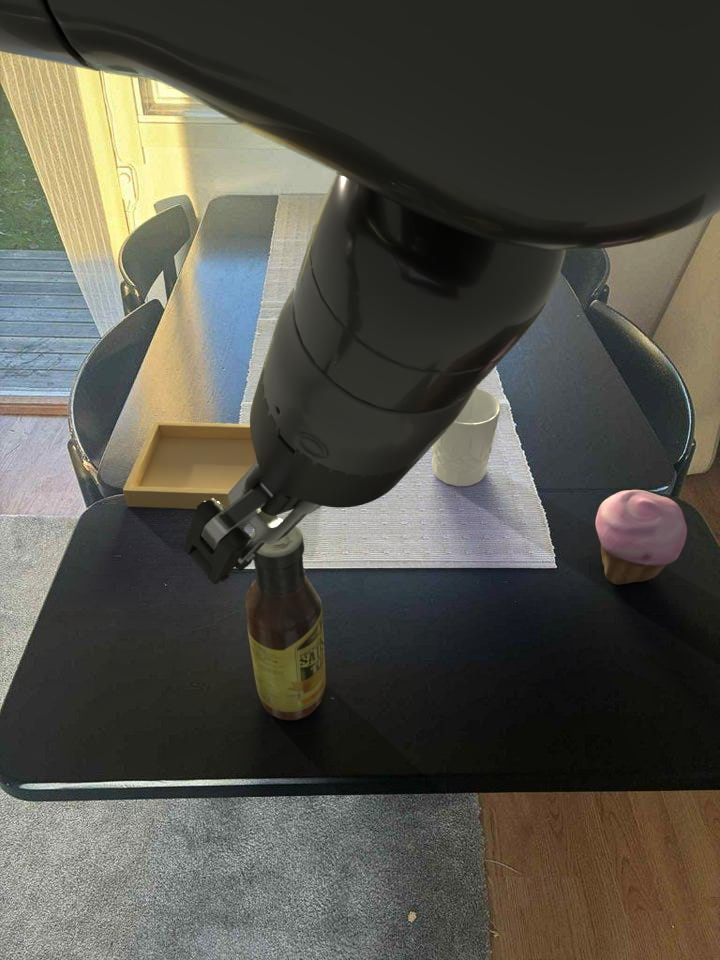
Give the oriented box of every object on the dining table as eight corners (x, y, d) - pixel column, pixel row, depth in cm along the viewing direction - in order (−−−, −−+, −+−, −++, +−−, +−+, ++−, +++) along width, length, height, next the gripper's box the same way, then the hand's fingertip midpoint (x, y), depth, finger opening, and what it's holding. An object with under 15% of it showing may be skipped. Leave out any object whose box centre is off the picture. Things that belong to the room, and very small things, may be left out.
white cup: (430, 447, 92) (436, 382, 85) (491, 453, 91) (501, 388, 84) (424, 486, 86) (429, 420, 79) (489, 493, 85) (499, 427, 78)
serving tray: (127, 506, 83) (122, 490, 81) (157, 436, 93) (153, 421, 92) (257, 511, 83) (254, 495, 81) (273, 440, 93) (272, 424, 91)
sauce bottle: (318, 729, 62) (307, 580, 49) (250, 718, 62) (220, 570, 49) (332, 666, 67) (325, 516, 53) (269, 657, 67) (246, 507, 54)
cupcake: (577, 539, 79) (596, 471, 72) (655, 542, 79) (682, 475, 72) (591, 601, 72) (615, 533, 66) (677, 605, 72) (709, 537, 65)
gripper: (413, 236, 31) (328, 401, 45) (148, 411, 25) (148, 537, 39) (532, 359, 30) (407, 486, 45) (290, 571, 24) (237, 638, 39)
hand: (286, 510), depth 42 cm, fingers open, 8 cm apart
